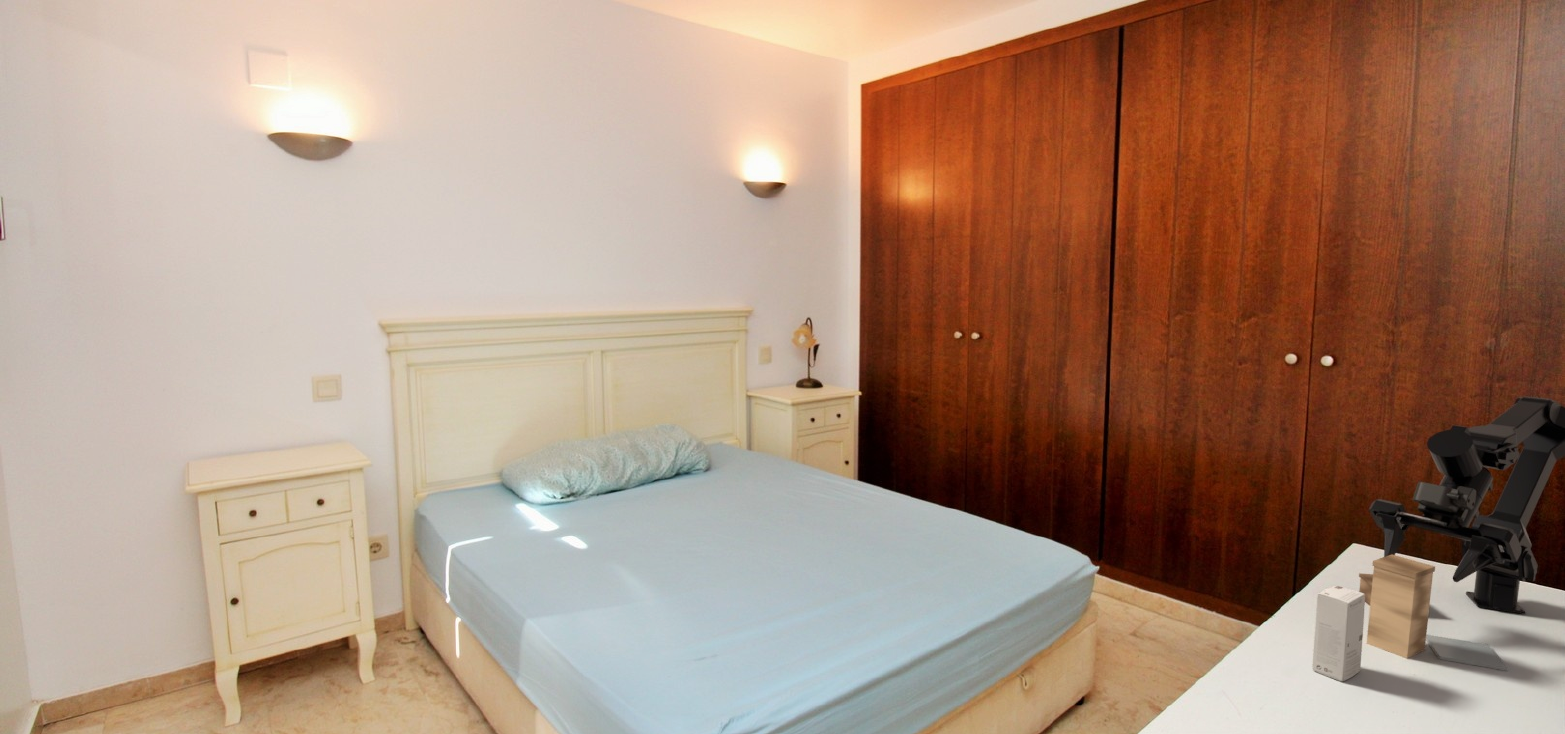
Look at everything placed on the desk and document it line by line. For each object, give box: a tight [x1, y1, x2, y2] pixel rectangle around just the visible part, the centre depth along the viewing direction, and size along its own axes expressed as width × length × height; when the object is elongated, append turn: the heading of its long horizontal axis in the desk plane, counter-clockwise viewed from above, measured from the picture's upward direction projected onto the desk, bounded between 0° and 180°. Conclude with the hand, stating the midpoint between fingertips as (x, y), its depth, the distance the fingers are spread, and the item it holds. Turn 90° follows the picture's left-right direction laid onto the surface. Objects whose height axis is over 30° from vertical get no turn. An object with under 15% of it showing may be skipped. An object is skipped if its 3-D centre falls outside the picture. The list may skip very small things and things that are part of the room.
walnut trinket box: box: [1358, 573, 1373, 607], centre depth 137 cm, size 6×6×5 cm
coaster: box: [1426, 633, 1508, 672], centre depth 120 cm, size 8×8×1 cm
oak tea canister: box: [1366, 554, 1436, 659], centre depth 121 cm, size 6×6×14 cm
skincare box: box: [1311, 585, 1366, 682], centre depth 114 cm, size 6×4×12 cm
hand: (1419, 570), depth 123 cm, fingers open, 9 cm apart
